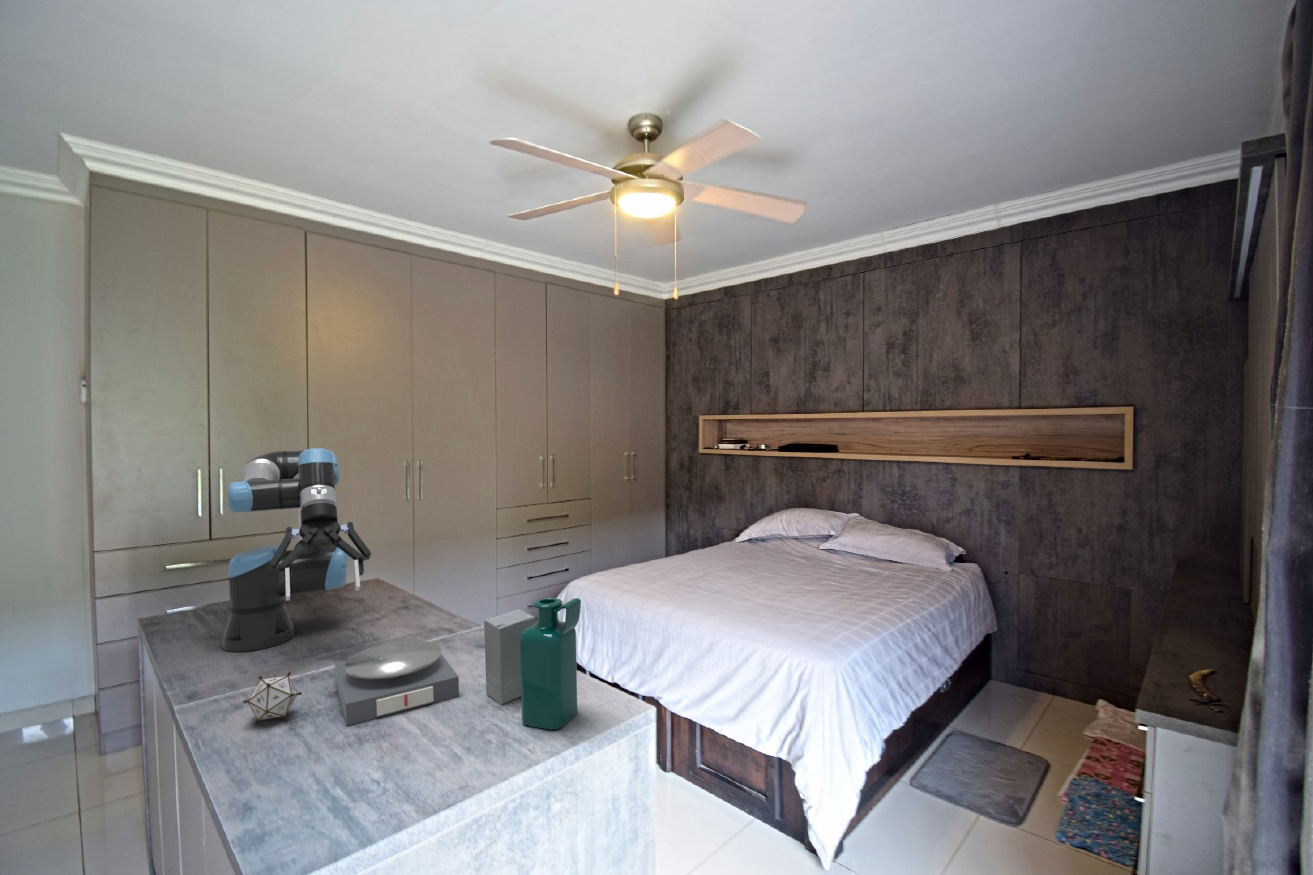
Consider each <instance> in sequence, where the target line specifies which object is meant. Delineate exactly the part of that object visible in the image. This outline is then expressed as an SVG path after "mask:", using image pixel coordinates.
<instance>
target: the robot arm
mask: <svg viewBox="0 0 1313 875" xmlns="http://www.w3.org/2000/svg"><path fill="white" fill-rule="evenodd" d="M240 478H241V481H234V482H230V484H229V485H228V487H227V500H228V501H227V502H228V509H229V511H230V512H232V513H245V514H246V513H247V514H248V513H251V512H262V511H263V512H265V511H275V510H288V509H289V510H291V509H297V516H298V518H297V520H298V528H292V527H291V526H287V527H286V528H285V534H284V538H283V540H282V541H281V543H280V544H276V545H267V546H261V547H258V548H253V549H249V550H246V551H243V552H240V553H238V554H235V555H234V556H232V557H231V558H230V560H229V563H228V574H227V578H228V581H229V610H230V611H229V613H230V614H229V618H228V620H227V624H226V627H225V630H224V632H223V636H222V641H221V642H222V649H223V650H224V651H228V652H236V653H237V652H249V651H256V650H263V649H267V648H271V647H274V646H276V645H280V644H283V643H285V642H287V641H289V640H291V639H293V637H294V636H295V627H294V623H293V621H292V619H291V616H290V613H289V611H288V610H287V607H286V602H287V601H291V596H295V595H296V596H297V595H302V594H309V593H315V592H325V591H326V592H328V591H331V590H336V589H340V588H343V587H344V586H345V585H346V584H347V579H348V578H347V577H348V575H347V574H348V564H349V562H348V561H349V558H350V559H352V560H353V564H352V565H353V577H354V578H353V579H354V580H353V581H354V589H355V592H358V591H360V588H361V580H360V576H363V575H364V572H365V568H364V566H365V564H364V562H365V561H368V560H370V559H371V556H372V551H371V550H370V549H369V547H368V546H367V544H365V543H364V541H363V540H362V538H361V537H360V535H359V534H358V533H357V531H356V530H355V527H354V523H353V522H351V521H348V522H347V524H339V520H338V508H337V496H336V486H338V484H339V481H340V471H339V466H338V459H337V456H336V454H335V453H334V452H333V451H332V450H331V449H326V448H321V447H311V448H308V449H305V450H283V451H282V450H280V451H279V450H278V451H272V452H271V451H270V452H268V453H264V454H261V455H258V456H256V457H254V458H252V459H251V460H249V461H248V462H246V463H245V464H244V466H243V468H241V473H240ZM340 532H343V533H344V534H347V535H348V536H347V537H348V538H349V539H350V541H351V542H352V543H353V545H354V546H355V547H352V546H351V545H350V544H349V543H348V542H347V541H345V540H344V539H343V538H342V536H341V535H339V534H340ZM296 536H298V541H297V542H296V543H295V544H294V546H293V549H289V550H287V549H288V548H289V545H290V544H291V541H292V540H293V539H295V538H296ZM355 548H356V549H357V550H356V549H355Z"/></svg>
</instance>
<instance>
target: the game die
mask: <svg viewBox="0 0 1313 875" xmlns="http://www.w3.org/2000/svg"><path fill="white" fill-rule="evenodd" d="M291 675H292V671H291V670H290V671H288V672H287V675H282V676H273V677H265V678H263V677H262V675H258V679H259V681H258V683H257V685H256V686H255V688H254V689H253V691H252V693H251V694H250V696H249V697H248V699H244V700H243V701H241V703H243V704H248V706H249V707H250V709H251V711H252V713H253V714H254V716H255V718H256V720H255V721H254V726H256V725H257V724H259V721H262V720H269V719H276V718H284V720H287V721H288V720H289V716H288V715H287V714H288V712H289V711H290V709H291V707H292V706H293V703H294V702H295V700H296V698H297V697H298V696H301V695H303V692H301V691H297V689H296V687H295V685H294V684H293V681H292V680H291V678H290V676H291Z"/></svg>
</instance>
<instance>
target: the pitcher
mask: <svg viewBox="0 0 1313 875" xmlns="http://www.w3.org/2000/svg"><path fill="white" fill-rule="evenodd" d="M581 604H582V601H581V599H580V598H577V597H576V598H575V597H574V598H572V599H571V600H570V601H567V602H565V603H563V600H562V599H560V598H557V597H543V598H539V599H536V600H535V601H534V602H533V603H532V606H533V608H535V609H537V621H536V622H535V624H533V625H532V626H530V627H528V628H527V629H525V630H524V631H523V632H522V634H521V637H520V663H521V697H520V703H521V704H520V705H521V707H520V708H521V721H522V723H523V724H524V725H525V726H527V725H528V727H532V726H533V728H537V727H538V729H542V728H545V729H544V730H547V729H550V730H549V731H553V730H552V729H557V728H560V729H562V728H563V727H564V726H565V725H566V724H567V723H569V721H570V720H572V718H574V717H575V715H577V713H578V673H577V672H578V670H577V669H578V668H577V666H578V665H577V663H578V662H577V631H576V627H577V625H578V623H579V620H580V615H581ZM563 609H565V618H564V621H561V620H559V612H560V611H562V610H563ZM561 727H562V728H561ZM557 730H558V729H557Z"/></svg>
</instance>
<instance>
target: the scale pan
mask: <svg viewBox="0 0 1313 875" xmlns="http://www.w3.org/2000/svg"><path fill="white" fill-rule="evenodd" d="M441 654H442V649H441V646H440V645H439V644H437V643H435V642H433V641H428V640H421V639H409V640H408V639H407V640H406V639H405V640H397V641H390V642H386V643H381V644H378V645H373V646H371V647H368V648H365V649H363V650H360V651H359V652H357V653H355V654H353V655H352V656H350V657H349V658H348V659H347V660H345V661H346V663H345V671H346V673H347V674H348V675H350V676H352V677H355V678H360V679H385V678H393V677H398V676H403V675H407V674H411V673H414V672H417V671H420V670H422V669H424V668H427V667H428V666H430V665H432V664H434V663H435V662H436V661H437V660H438V659H439V658H440V656H441Z"/></svg>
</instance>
